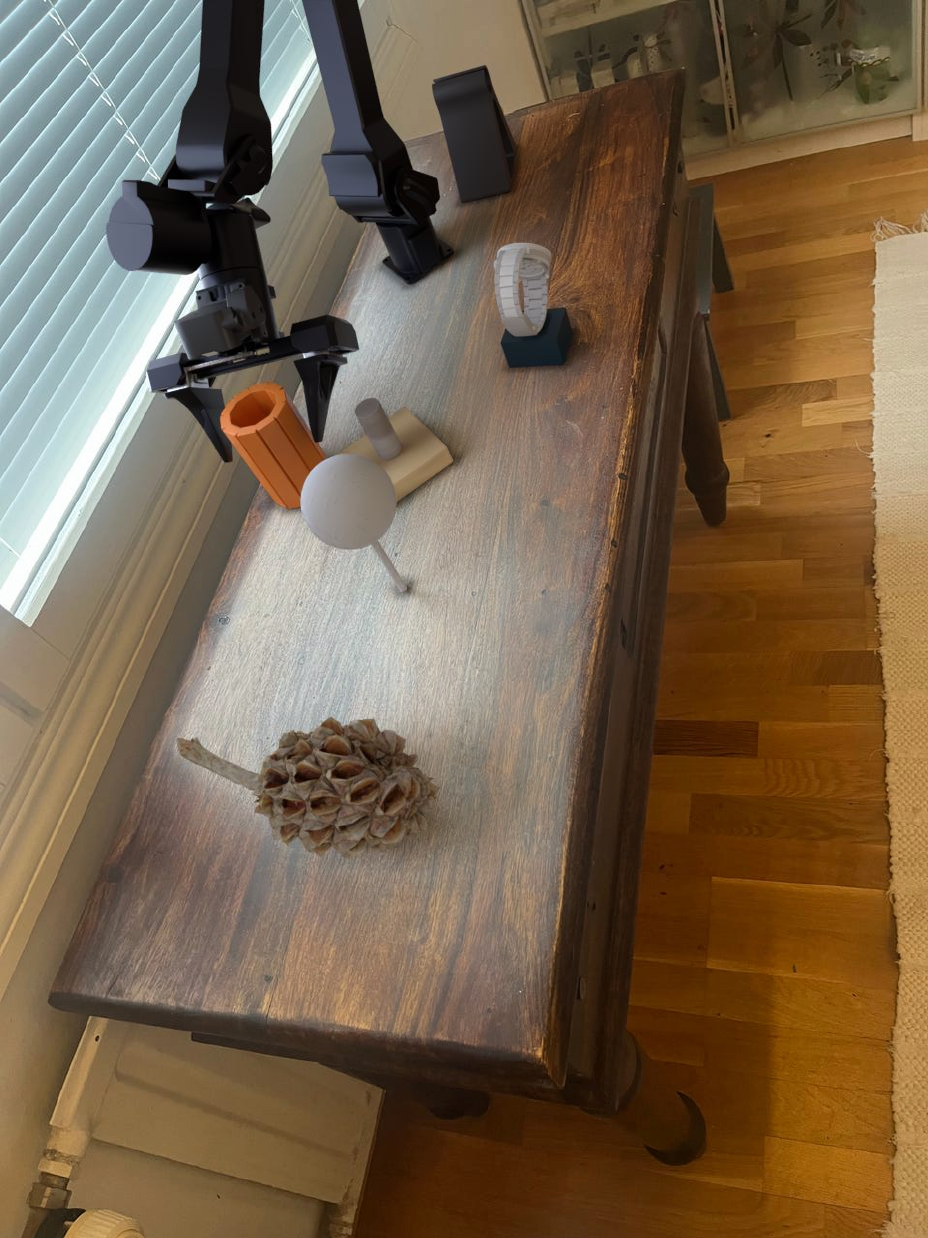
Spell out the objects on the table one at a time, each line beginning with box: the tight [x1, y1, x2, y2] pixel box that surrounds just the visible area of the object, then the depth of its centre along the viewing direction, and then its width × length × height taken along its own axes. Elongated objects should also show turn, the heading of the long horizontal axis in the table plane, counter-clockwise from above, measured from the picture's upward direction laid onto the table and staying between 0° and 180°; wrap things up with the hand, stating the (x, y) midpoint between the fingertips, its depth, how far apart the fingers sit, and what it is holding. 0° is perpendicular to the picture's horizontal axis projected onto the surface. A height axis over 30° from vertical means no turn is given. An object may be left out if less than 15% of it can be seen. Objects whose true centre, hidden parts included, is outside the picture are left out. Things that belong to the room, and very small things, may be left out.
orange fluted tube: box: [220, 381, 328, 510], centre depth 86 cm, size 6×7×10 cm
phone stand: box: [431, 64, 518, 204], centre depth 105 cm, size 9×6×12 cm, turn 173°
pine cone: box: [175, 716, 441, 860], centre depth 65 cm, size 22×10×10 cm, turn 74°
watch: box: [493, 242, 574, 369], centre depth 85 cm, size 6×8×11 cm
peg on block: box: [336, 397, 454, 503], centre depth 84 cm, size 8×8×8 cm
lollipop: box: [300, 454, 408, 593], centre depth 72 cm, size 7×7×15 cm
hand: (272, 452), depth 85 cm, fingers open, 9 cm apart
